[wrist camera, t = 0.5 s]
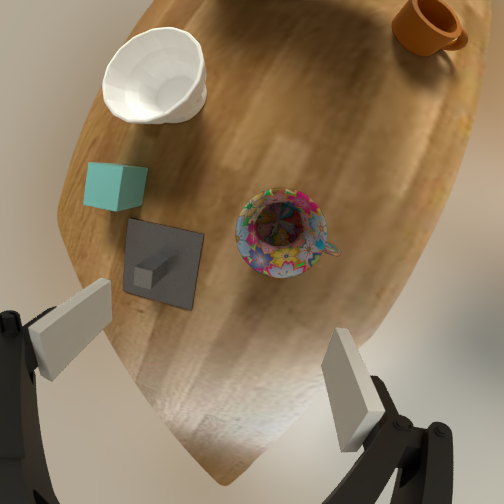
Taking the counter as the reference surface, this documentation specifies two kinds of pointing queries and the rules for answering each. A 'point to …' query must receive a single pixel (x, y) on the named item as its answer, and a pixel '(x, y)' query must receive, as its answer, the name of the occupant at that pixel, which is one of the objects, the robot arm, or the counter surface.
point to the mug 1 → (282, 233)
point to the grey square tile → (161, 262)
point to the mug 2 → (428, 27)
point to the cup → (156, 78)
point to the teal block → (114, 186)
